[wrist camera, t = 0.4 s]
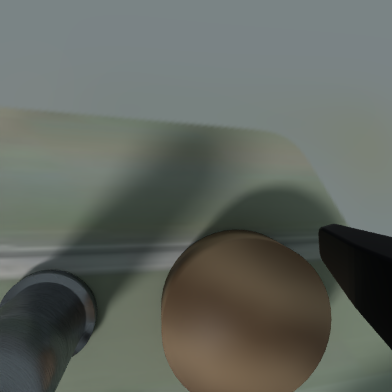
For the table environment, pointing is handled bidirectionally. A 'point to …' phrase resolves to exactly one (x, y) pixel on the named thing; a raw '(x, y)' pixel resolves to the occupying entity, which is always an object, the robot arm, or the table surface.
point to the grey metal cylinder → (43, 329)
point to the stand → (243, 315)
